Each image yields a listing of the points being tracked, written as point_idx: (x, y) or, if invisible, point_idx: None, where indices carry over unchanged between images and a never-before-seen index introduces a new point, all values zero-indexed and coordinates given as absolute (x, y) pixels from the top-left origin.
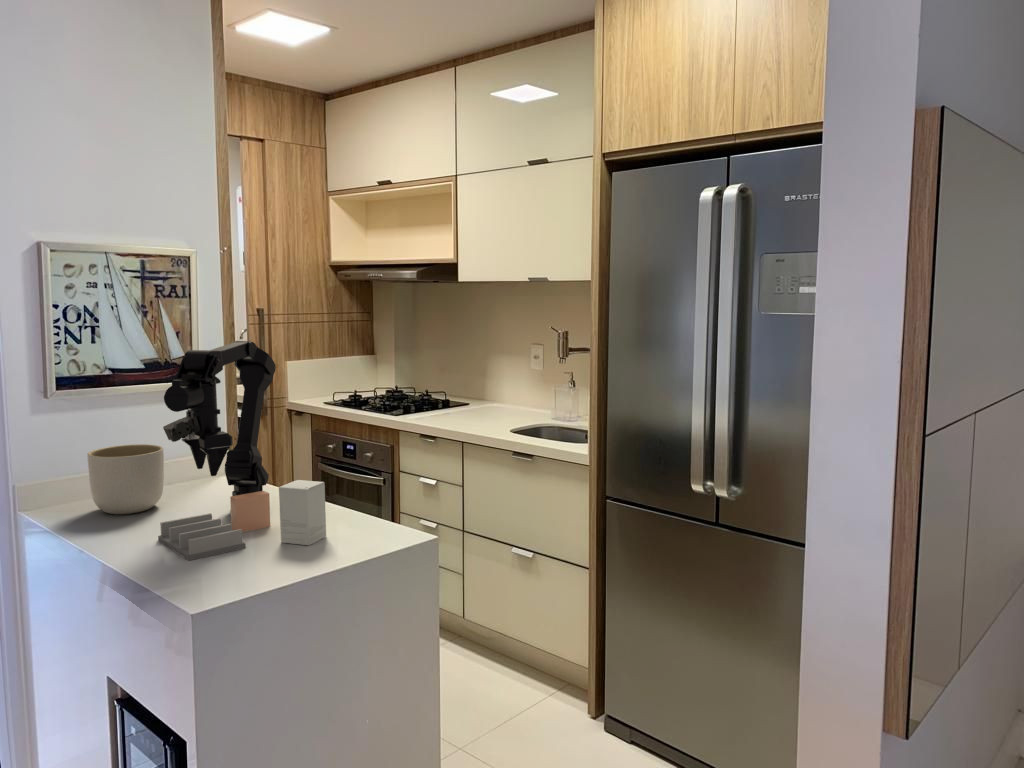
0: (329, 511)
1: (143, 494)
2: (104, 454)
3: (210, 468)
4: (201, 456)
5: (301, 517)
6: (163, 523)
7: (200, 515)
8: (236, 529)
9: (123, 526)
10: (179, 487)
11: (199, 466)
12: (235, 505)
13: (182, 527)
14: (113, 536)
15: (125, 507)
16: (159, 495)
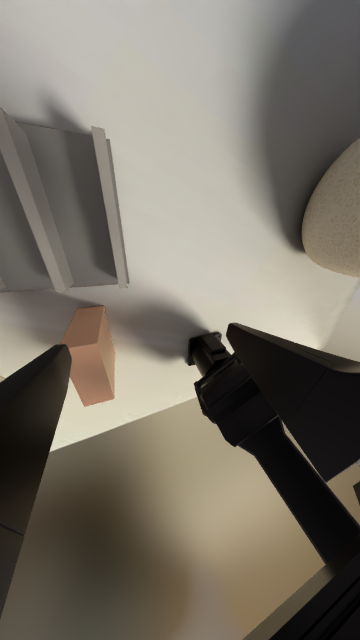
0: (124, 414)
1: (327, 214)
2: None
3: (15, 373)
4: (258, 365)
5: None
6: (93, 136)
7: (119, 263)
8: (78, 311)
9: (265, 140)
10: (332, 303)
11: (233, 332)
12: (65, 338)
13: (9, 167)
14: (217, 56)
15: (324, 177)
16: (311, 254)
